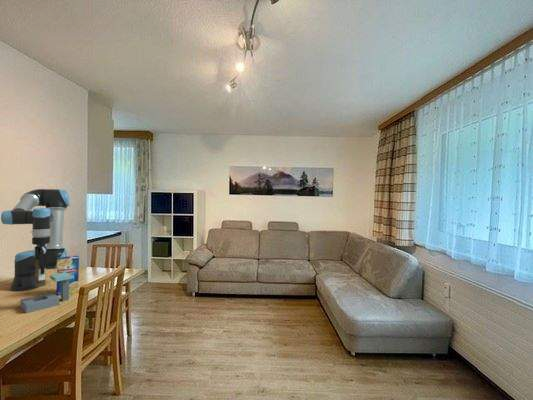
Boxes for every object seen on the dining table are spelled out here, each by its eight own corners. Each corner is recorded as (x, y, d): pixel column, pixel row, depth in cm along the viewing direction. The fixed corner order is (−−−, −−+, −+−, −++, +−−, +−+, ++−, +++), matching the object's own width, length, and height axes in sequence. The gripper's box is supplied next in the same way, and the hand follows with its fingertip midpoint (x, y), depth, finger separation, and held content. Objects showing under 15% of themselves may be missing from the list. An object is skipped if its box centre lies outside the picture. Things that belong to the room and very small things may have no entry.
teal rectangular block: (49, 300, 157) (50, 274, 157) (65, 297, 163) (65, 272, 163) (54, 305, 152) (55, 278, 152) (70, 301, 158) (71, 275, 158)
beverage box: (78, 292, 171) (79, 257, 171) (56, 296, 165) (56, 259, 164) (77, 289, 177) (78, 255, 176) (56, 292, 170) (57, 257, 170)
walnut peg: (33, 285, 149) (34, 260, 149) (43, 283, 153) (44, 258, 153) (36, 287, 147) (36, 261, 146) (46, 285, 150) (46, 260, 150)
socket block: (20, 306, 148) (20, 299, 148) (52, 299, 159) (52, 292, 159) (26, 313, 141) (26, 305, 141) (59, 304, 152) (59, 297, 152)
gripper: (27, 235, 152) (27, 277, 152) (37, 239, 141) (36, 284, 142) (44, 234, 158) (43, 274, 158) (54, 237, 147) (54, 280, 148)
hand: (40, 278), depth 150 cm, fingers closed on walnut peg, 4 cm apart
